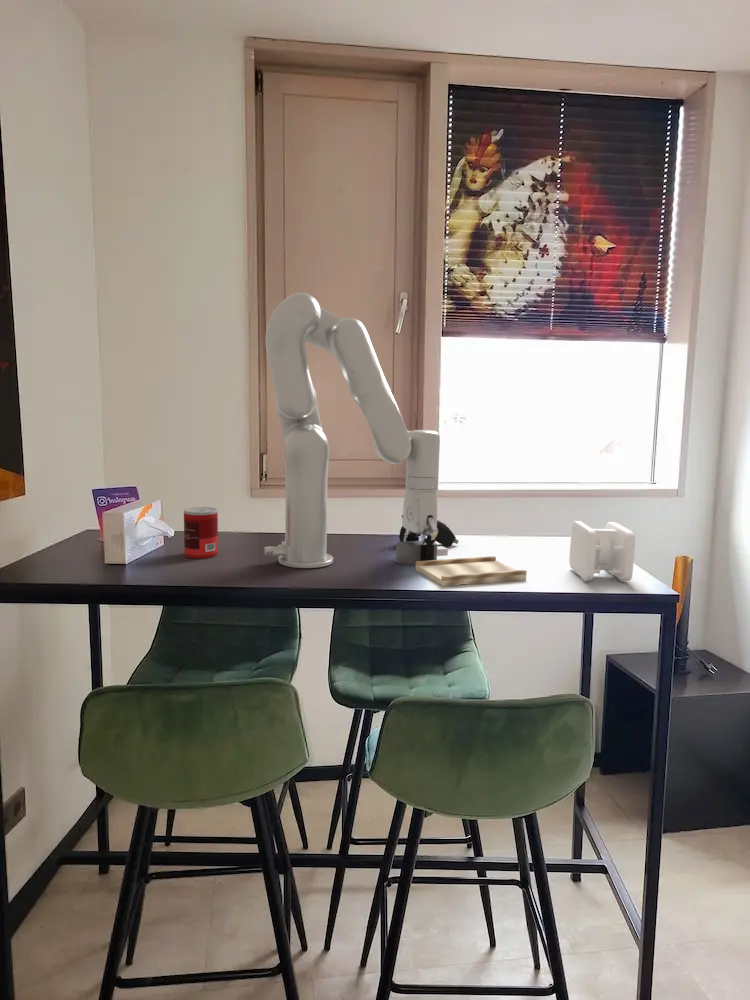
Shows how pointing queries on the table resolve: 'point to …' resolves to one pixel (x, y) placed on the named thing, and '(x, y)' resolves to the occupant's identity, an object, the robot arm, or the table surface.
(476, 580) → the board
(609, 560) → the cable organizer
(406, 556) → the connector
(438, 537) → the gun
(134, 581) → the table surface
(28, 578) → the table surface
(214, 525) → the canned food
